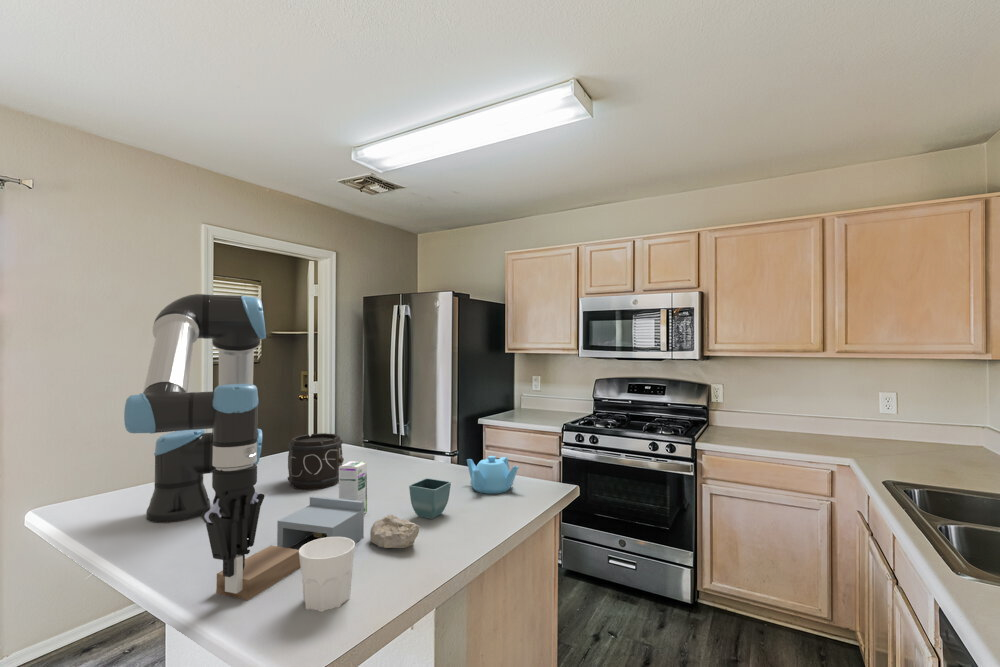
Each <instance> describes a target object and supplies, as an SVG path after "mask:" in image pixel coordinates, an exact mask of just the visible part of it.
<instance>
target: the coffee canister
mask: <svg viewBox="0 0 1000 667" xmlns="http://www.w3.org/2000/svg"><path fill="white" fill-rule="evenodd" d="M343 443H344V442H343V440H342V439H341V436H340V435H337V434H335V433H326V432H324V433H323V432H321V433H311V435H309V433H308V434H302V435H297V436H295V437H293V438H290V442H288V444H287V448H288V456H287V471H288V476H287V479H286V480H287V481H288V482H289V483H290V486H291V487H292V488H293V489H297V490H306V491H308V490H317V489H318V490H319V489H326V488H329V487H332V486H335V485H337V483H338V484H339V466H342V465H343V462H344V460H345V459H344V457H343V447H342V444H343Z"/></svg>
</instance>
